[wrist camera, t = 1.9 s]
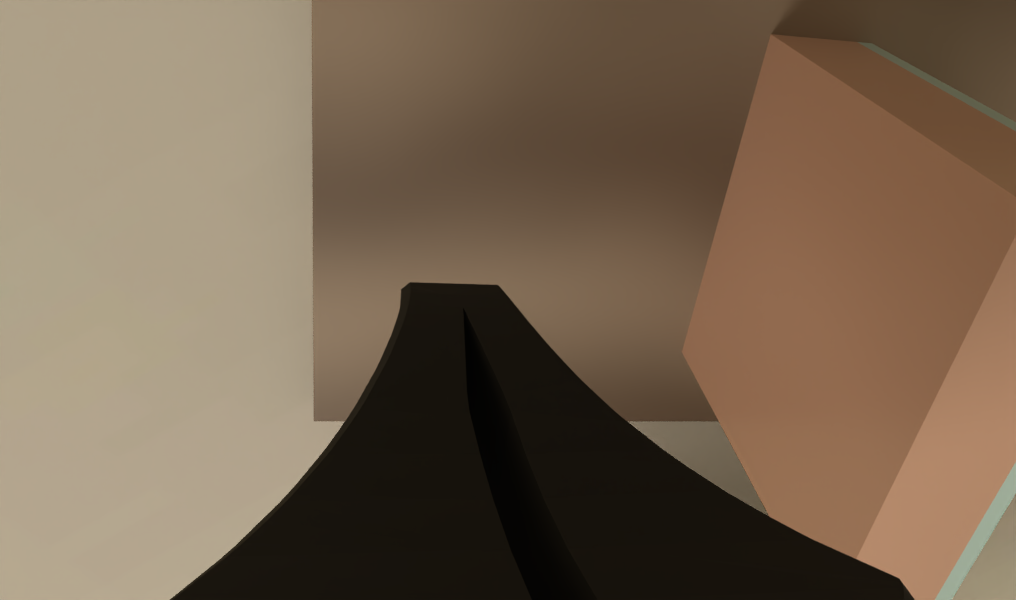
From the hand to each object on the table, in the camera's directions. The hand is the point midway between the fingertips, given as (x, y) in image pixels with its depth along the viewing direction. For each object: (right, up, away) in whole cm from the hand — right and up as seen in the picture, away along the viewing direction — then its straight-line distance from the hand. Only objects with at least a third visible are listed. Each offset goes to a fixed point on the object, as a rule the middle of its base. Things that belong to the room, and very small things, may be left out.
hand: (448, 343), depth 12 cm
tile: (+6, +2, +5) cm, 8 cm away
